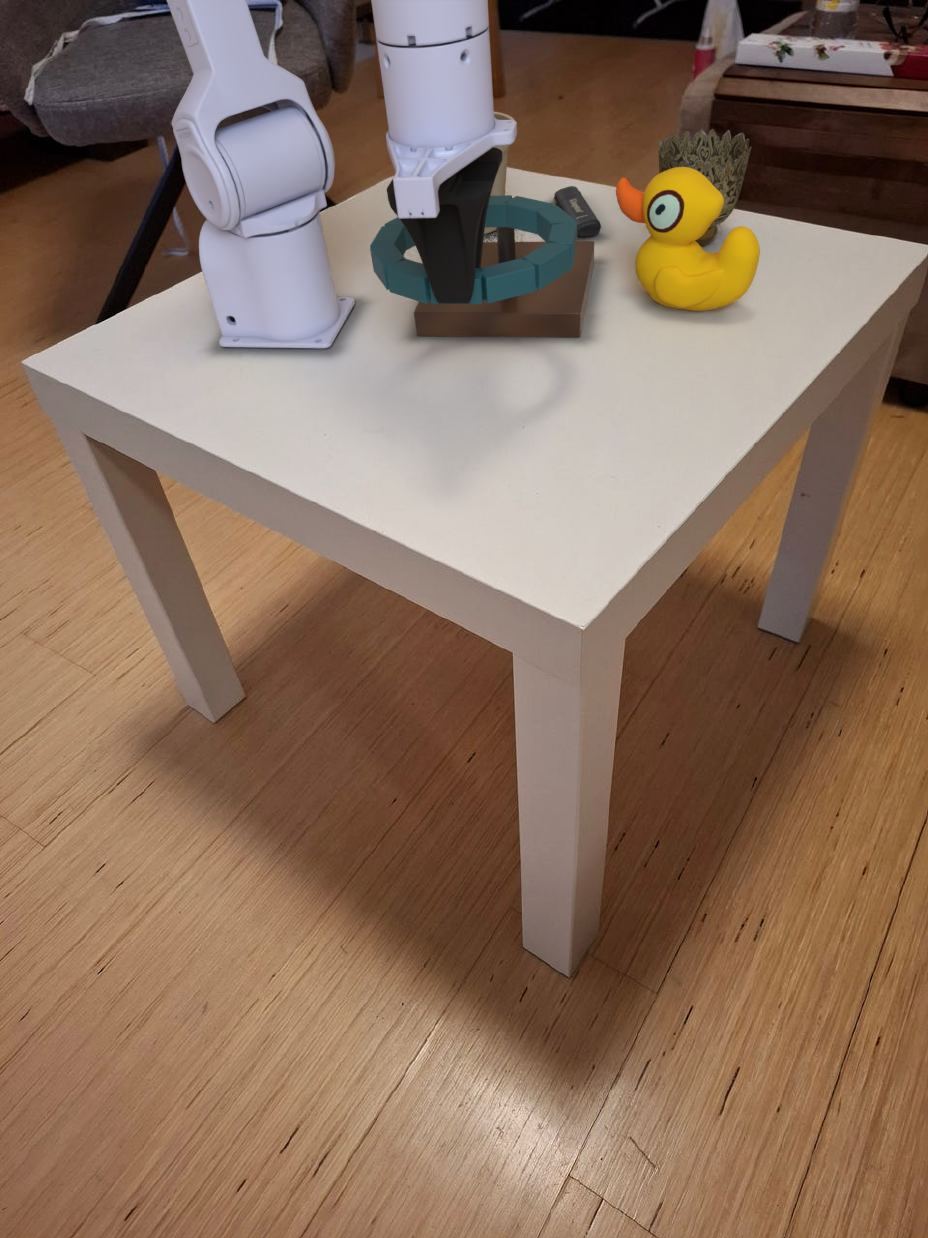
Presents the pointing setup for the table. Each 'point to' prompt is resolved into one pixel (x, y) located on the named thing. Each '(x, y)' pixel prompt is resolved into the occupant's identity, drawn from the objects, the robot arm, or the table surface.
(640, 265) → the duckling
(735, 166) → the cup
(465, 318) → the ring toss peg base
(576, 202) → the usb stick
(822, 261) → the table surface
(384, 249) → the teal segmented ring
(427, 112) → the robot arm
